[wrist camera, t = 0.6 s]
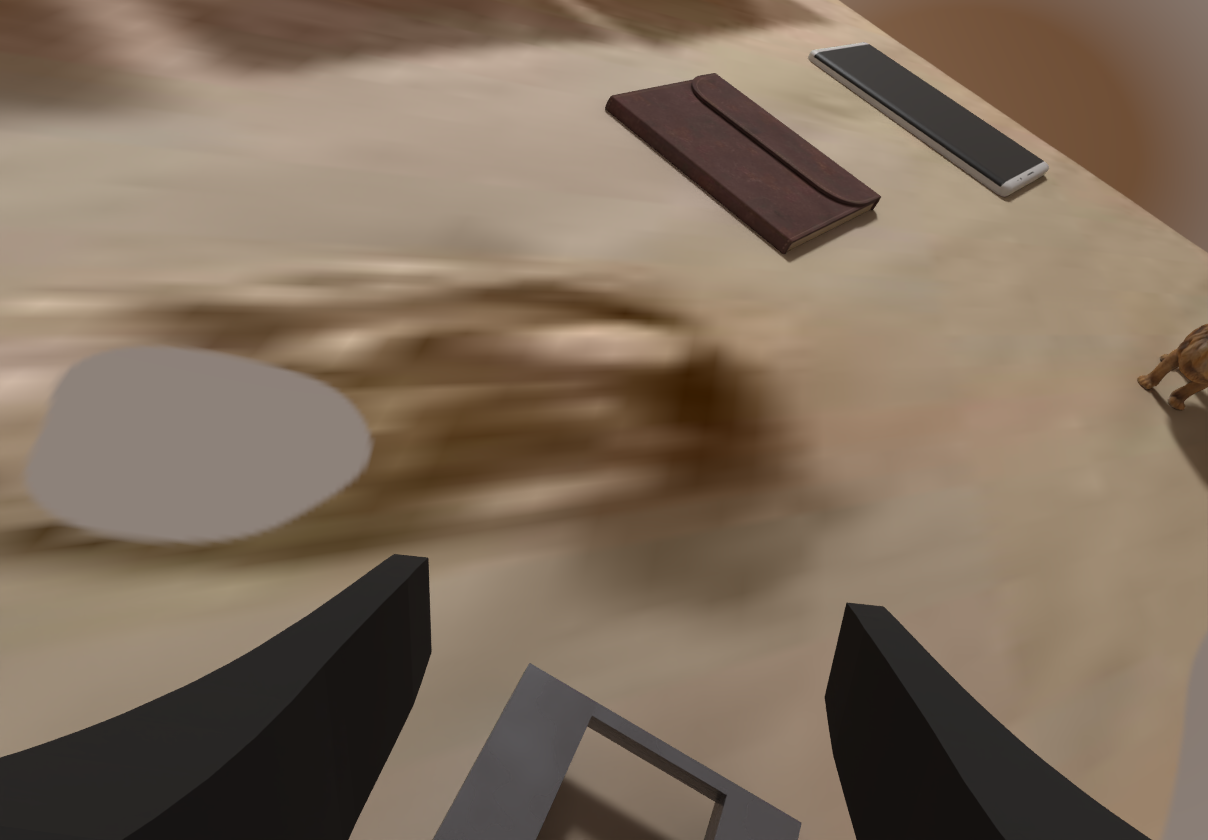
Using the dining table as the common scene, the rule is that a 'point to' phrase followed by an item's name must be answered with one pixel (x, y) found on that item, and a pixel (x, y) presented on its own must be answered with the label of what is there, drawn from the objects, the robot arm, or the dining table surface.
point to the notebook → (745, 158)
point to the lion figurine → (1184, 367)
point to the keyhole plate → (544, 752)
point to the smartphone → (932, 117)
